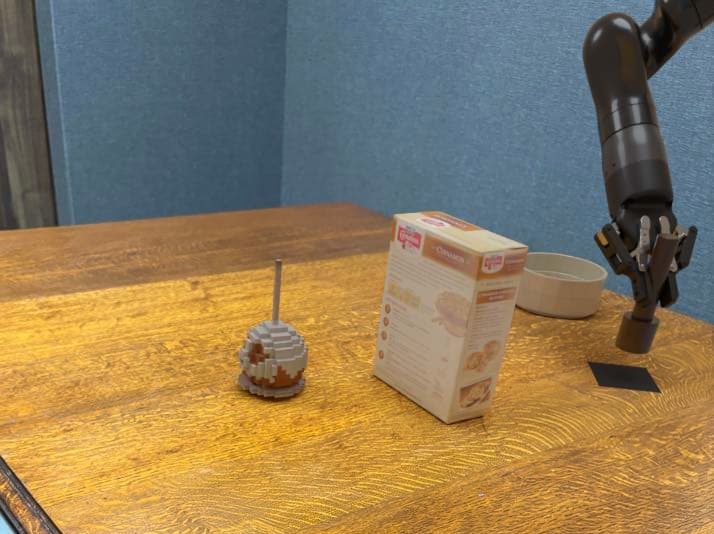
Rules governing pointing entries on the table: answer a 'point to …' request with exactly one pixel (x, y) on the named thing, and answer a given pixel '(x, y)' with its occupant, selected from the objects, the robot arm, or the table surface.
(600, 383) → the coaster
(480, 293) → the coffeecake box
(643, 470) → the table surface
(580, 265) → the bowl
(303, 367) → the decorative ornament
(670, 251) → the pestle
